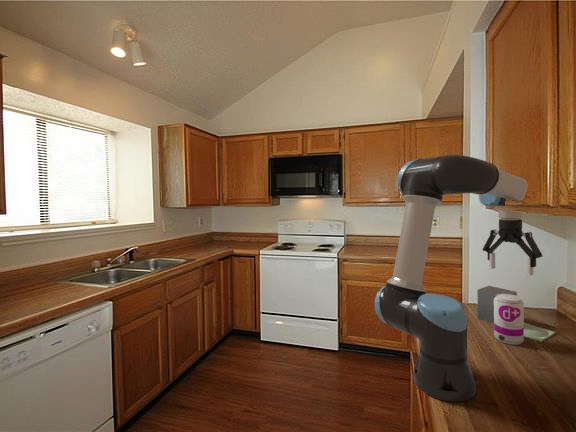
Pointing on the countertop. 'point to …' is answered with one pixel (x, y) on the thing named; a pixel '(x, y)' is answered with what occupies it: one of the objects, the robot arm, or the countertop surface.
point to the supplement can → (509, 319)
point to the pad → (536, 332)
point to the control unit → (489, 301)
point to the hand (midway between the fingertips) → (510, 271)
